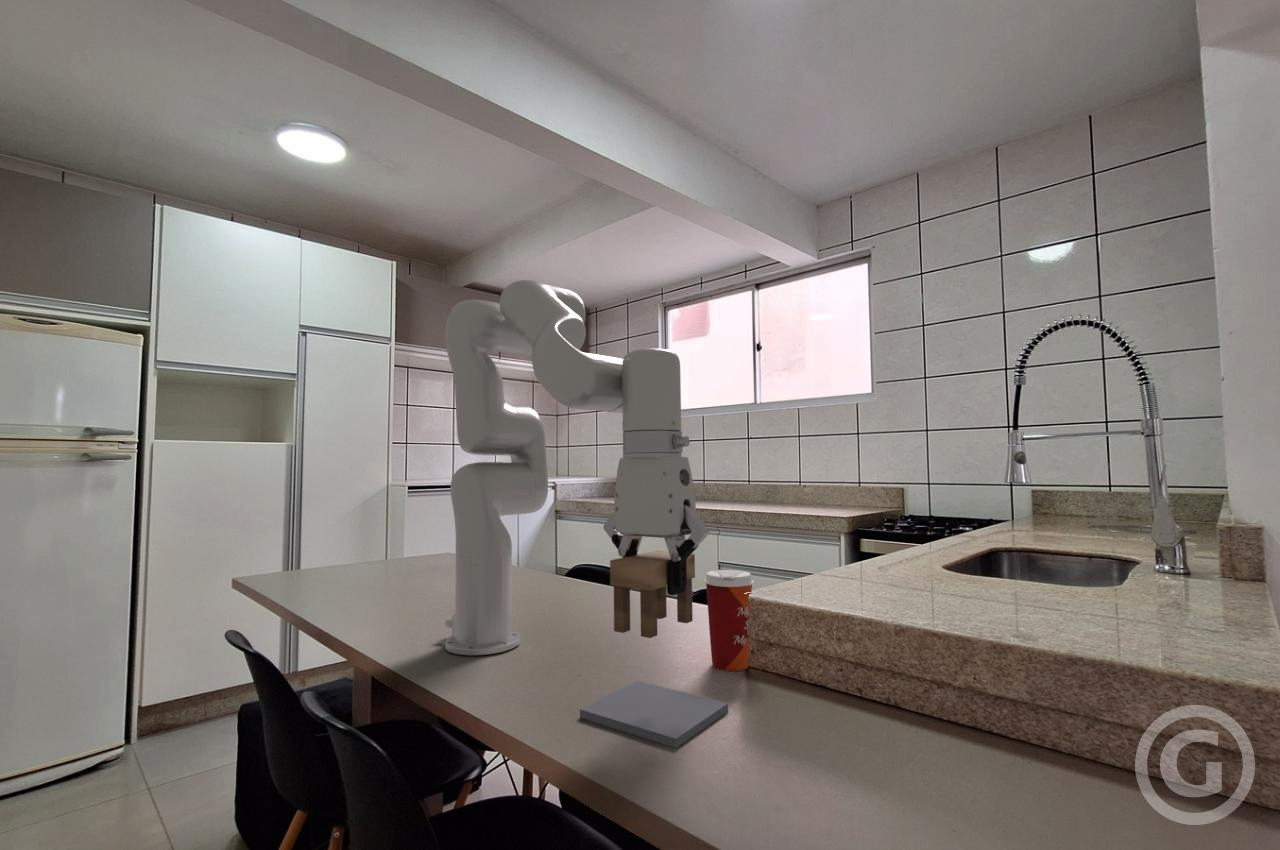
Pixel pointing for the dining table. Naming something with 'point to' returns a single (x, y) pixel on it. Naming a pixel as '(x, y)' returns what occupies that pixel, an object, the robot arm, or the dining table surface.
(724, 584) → the paper cup
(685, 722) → the mat
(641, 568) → the footstool
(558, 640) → the dining table surface
